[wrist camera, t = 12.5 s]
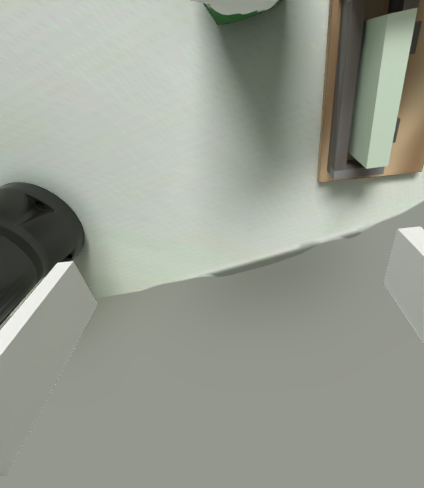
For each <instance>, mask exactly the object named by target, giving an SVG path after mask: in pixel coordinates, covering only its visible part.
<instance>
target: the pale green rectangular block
mask: <svg viewBox="0 0 424 488" xmlns="http://www.w3.org/2000/svg"><path fill="white" fill-rule="evenodd" d="M417 9H418V8H413V9H409V10H404V11H400V12H395V13H391V14H387V15H383V16H380V17H376V18H373V19H369V20H366V21H364V28H363V36H362V44H361V52H360V59H359V67H358V75H357V83H356V91H355V99H354V106H353V114H352V122H351V130H350V138H349V146H348V153H350V154H351V155H352V156H353V157H354V158H355V159H356V160H357V161H358V162H359V163H361V164H362V165H363V166H364V167H365V168H366V169H368V168H376V167H383V166H388V165H389V159H390V154H391V148H392V143H393V138H394V132H395V127H396V122H397V116H398V111H399V105H400V100H401V95H402V89H403V84H404V79H405V73H406V68H407V62H408V57H409V52H410V46H411V41H412V36H413V30H414V25H415V19H416V14H417Z"/></svg>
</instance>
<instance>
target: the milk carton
mask: <svg viewBox="0 0 424 488" xmlns="http://www.w3.org/2000/svg"><path fill="white" fill-rule="evenodd" d="M192 1H197V2H201V3H203V4H204V6H205V7H206V8H207V10H208V11H209V13H210V14H211V16H212V17H213V19H214V20H215V22H216V23H217V24H225V23H232V22H236V21H239V20H242V19H245V18H248V17H251V16H254V15H256V14H259V13H262V12H264V11H267V10H269V9H270V8H272V7H274V6H275V5H276V4H278V3H279V2H280V1H281V0H192Z"/></svg>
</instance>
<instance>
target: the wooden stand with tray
mask: <svg viewBox="0 0 424 488" xmlns="http://www.w3.org/2000/svg"><path fill="white" fill-rule="evenodd" d="M413 8H418V9H417V14H416V19H415V25H414V30H413V36H412V41H411V46H410V52H409V57H408V62H407V68H406V73H405V79H404V84H403V89H402V95H401V100H400V105H399V111H398V116H397V122H396V127H395V132H394V138H393V143H392V148H391V154H390V159H389V165H388V166H383V167H376V168H368V169H366V168H365V167H364V166H363V165H362V164H361V163H359V162H358V161H357V160H356V159H355V158H354V157H353V156H352V155H351V154H350V153H348V146H349V138H350V130H351V122H352V114H353V106H354V99H355V91H356V83H357V75H358V67H359V59H360V52H361V44H362V36H363V28H364V21H366V20H369V19H373V18H376V17H380V16H383V15H387V14H391V13H395V12H400V11H404V10H409V9H413ZM423 165H424V0H330V7H329V21H328V35H327V49H326V64H325V78H324V92H323V107H322V121H321V135H320V149H319V164H318V178H317V179H318V181H319V182H327V181H337V180H347V179H357V178H366V177H376V176H386V175H395V174H405V173H415V172H422V168H423Z"/></svg>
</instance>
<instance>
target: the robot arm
mask: <svg viewBox="0 0 424 488" xmlns="http://www.w3.org/2000/svg"><path fill="white" fill-rule="evenodd" d="M83 243H84V234H83V229H82V226H81V224H80V222H79V220H78V218H77V216H76V215H75V213H74V212H73V211H72V210H71V208H70V207H69V206H68V205H67V204H66V203H65V202H64V201H62V200H61V199H60V198H59V197H57V196H56V195H54V194H53V193H51V192H49V191H48V190H46V189H44V188H41V187H39V186H36V185H32V184H28V183H20V182H19V183H9V184H6V185H3V186H1V187H0V325H1V324H2V323H3V322H4V320H5V319H6V318H7V317H8V316H9V315H10V314H11V312H12V311H13V310H14V309H15V308H16V307H17V306H18V304H19V303H20V302H21V301H22V300H23V299H24V298H25V296H26V295H27V294H28V293H29V292H30V291H31V290H32V288H33V287H34V286H35V285H36V284H37V283H38V282H39V281H40V279H42V278H43V277H45V276H46V277H45V278H44V279H43V281H42V282H41V283H40V284H39V285H38V286H37V288H36V289H35V290H34V291H33V292H32V294H31V295H30V296H29V297H28V298H27V299H26V301H25V302H24V303H23V304H22V305H21V307H20V308H19V309H18V310H17V311H16V313H15V314H14V315H13V316H12V317H11V318H10V320H9V321H8V322H7V323H6V324H5V326H4V327H3V328H2V329H1V330H0V475H5V476H6V475H7V474H8V472H9V470H10V468H11V466H12V464H13V463H14V461H15V459H16V457H17V455H18V453H19V451H20V450H21V448H22V446H23V444H24V442H25V440H26V438H27V437H28V435H29V433H30V431H31V429H32V427H33V425H34V424H35V422H36V420H37V418H38V416H39V414H40V412H41V410H42V409H43V407H44V405H45V403H46V401H47V399H48V397H49V396H50V394H51V392H52V390H53V388H54V386H55V384H56V383H57V381H58V378H59V377H60V375H61V373H62V371H63V369H64V368H65V365H66V364H67V362H68V360H69V358H70V356H71V355H72V353H73V351H74V349H75V347H76V345H77V343H78V341H79V340H80V337H81V336H82V334H83V332H84V330H85V328H86V327H87V325H88V323H89V321H90V319H91V317H92V315H93V314H94V312H95V310H96V308H97V306H98V303H97V302H96V300H95V298H94V296H93V295H92V293H91V291H90V289H89V288H88V286H87V284H86V282H85V281H84V279H83V277H82V275H81V274H80V272H79V270H78V268H77V267H76V265H75V263H74V261H72V260H73V259H74V258H75V257H76V256H77V255H78V253H79V252H80V251H81V249H82V247H83ZM383 284H384V285H385V287H386V288H387V290H388V291H389V293H390V294H391V296H392V297H393V299H394V300H395V302H396V303H397V305H398V306H399V308H400V309H401V311H402V312H403V314H404V315H405V317H406V318H407V319H408V321H409V323H410V324H411V326H412V327H413V329H414V330H415V332H416V333H417V334H418V336H419V338H420V339H421V340H422V342H423V343H424V230H423V229H422V228H421V227H412V228H402V229H397V233H396V237H395V241H394V244H393V249H392V252H391V256H390V260H389V264H388V268H387V272H386V275H385V279H384V283H383Z"/></svg>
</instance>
